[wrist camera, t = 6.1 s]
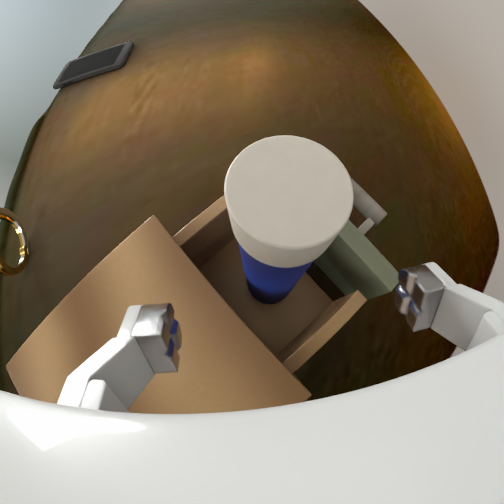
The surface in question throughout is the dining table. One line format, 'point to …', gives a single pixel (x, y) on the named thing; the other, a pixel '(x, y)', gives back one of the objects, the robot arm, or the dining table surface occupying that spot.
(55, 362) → the cabinet
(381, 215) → the drawer
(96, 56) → the cell phone
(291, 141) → the disc
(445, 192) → the dining table surface
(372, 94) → the dining table surface
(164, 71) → the dining table surface
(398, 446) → the robot arm
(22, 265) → the ring
